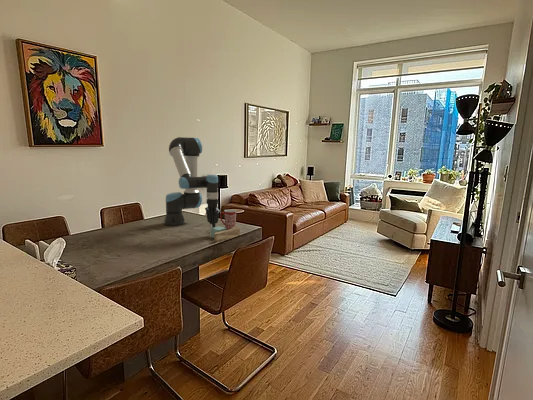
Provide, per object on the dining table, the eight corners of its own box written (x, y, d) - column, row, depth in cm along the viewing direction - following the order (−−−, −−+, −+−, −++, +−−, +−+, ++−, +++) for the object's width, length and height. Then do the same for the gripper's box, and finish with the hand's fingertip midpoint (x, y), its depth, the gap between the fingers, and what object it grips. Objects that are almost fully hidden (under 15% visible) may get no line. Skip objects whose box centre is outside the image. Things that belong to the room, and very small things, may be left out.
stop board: (212, 240, 202) (212, 232, 201) (234, 234, 217) (234, 226, 216) (217, 242, 199) (217, 234, 198) (239, 235, 214) (239, 228, 213)
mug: (238, 227, 233) (238, 209, 231) (233, 230, 225) (233, 212, 222) (222, 226, 237) (222, 208, 235) (217, 229, 228) (217, 210, 226)
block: (210, 236, 209) (210, 228, 208) (218, 234, 215) (218, 226, 213) (218, 239, 205) (218, 230, 204) (226, 236, 210) (226, 228, 209)
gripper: (201, 197, 210) (202, 232, 214) (214, 200, 202) (214, 236, 206) (210, 196, 216) (210, 230, 220) (223, 198, 208) (223, 233, 212)
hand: (212, 232), depth 213 cm, fingers closed
